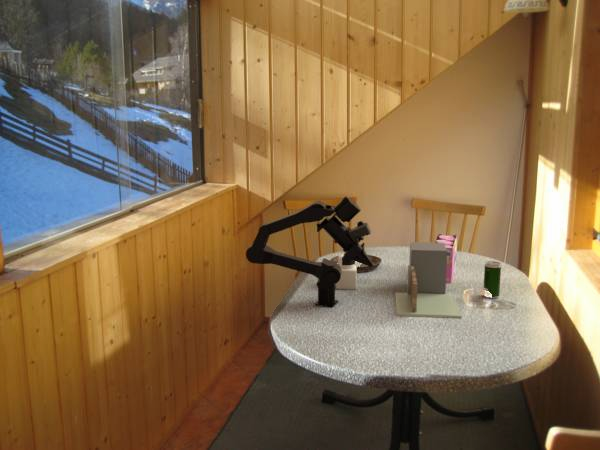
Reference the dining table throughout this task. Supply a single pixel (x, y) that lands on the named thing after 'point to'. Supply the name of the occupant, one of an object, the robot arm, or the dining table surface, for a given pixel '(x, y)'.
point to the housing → (428, 283)
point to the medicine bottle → (347, 274)
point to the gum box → (449, 254)
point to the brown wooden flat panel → (413, 290)
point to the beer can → (492, 278)
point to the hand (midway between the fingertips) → (372, 265)
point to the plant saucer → (363, 267)
